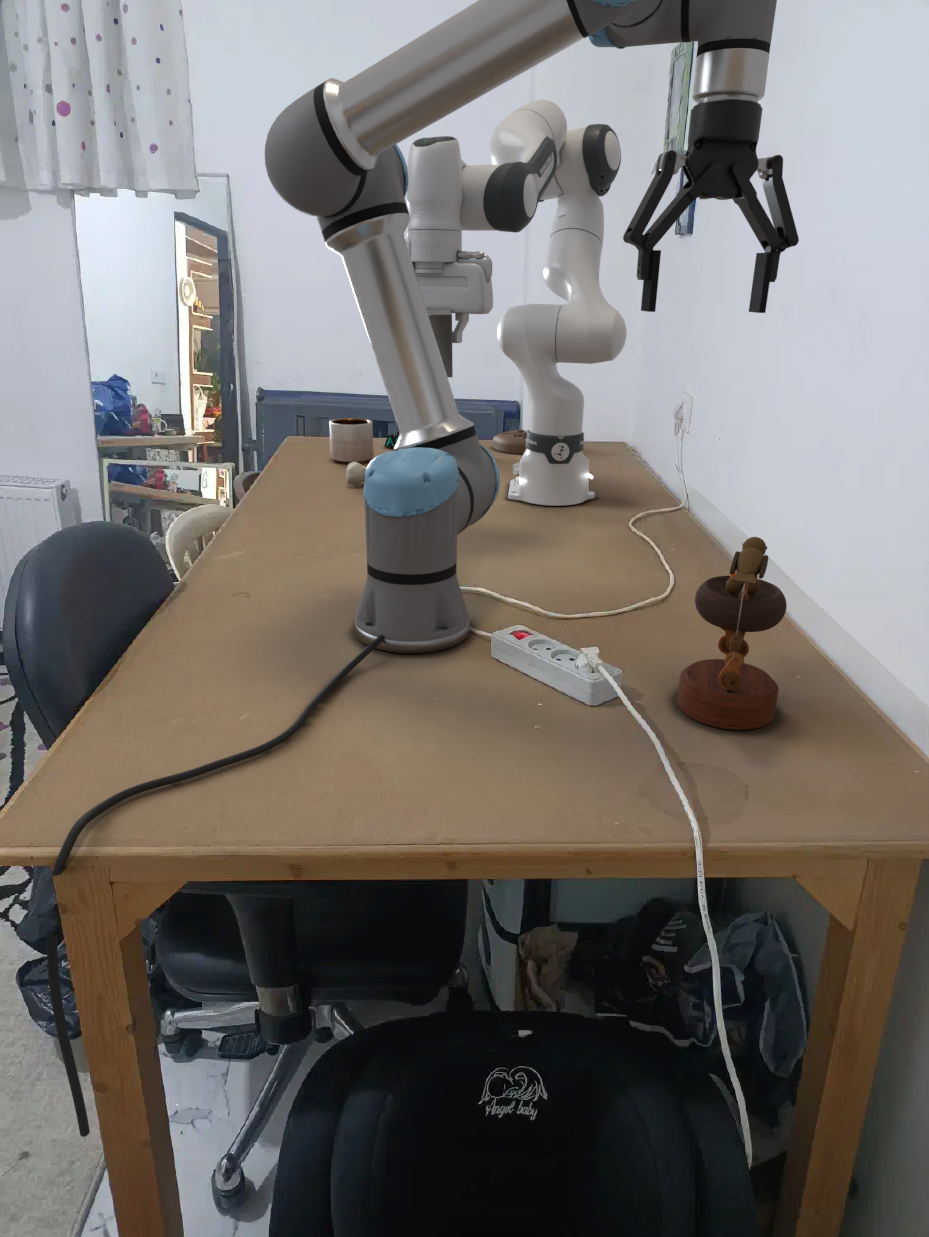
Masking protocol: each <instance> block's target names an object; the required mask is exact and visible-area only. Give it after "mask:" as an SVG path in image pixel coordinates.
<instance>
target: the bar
mask: <svg viewBox="0 0 929 1237" xmlns="http://www.w3.org/2000/svg"><path fill="white" fill-rule="evenodd" d="M426 310H427V313H428V316H429V319H430V322H431V326H432V329H433V332H434V335H435V339H436V342H437V345H438V348H439V351H440V355H441V358H442V361H443V364H444V368H445V371H446V374H447V377H448V378H453V377H454V376H453V375H454V374H453V372H454V371H453V368H454V366H453V343H452V331H453V313H451V311H450V309H430V308H426Z"/></svg>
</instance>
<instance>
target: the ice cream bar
mask: <svg viewBox="0 0 929 1237" xmlns="http://www.w3.org/2000/svg"><path fill="white" fill-rule="evenodd" d="M528 430H529V429H527V430H524V429H523V428H522V429H516V430H509V431H504V432H500V433H497V434H495V435H494V436H493V437H492V448H493V449H494V450H496V451H499V452H503V453H509V454H518V455H519V454H520V455H523V454H524V452H525V450H526V446H525V445H526V436H527V431H528Z"/></svg>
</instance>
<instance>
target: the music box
mask: <svg viewBox="0 0 929 1237" xmlns="http://www.w3.org/2000/svg"><path fill="white" fill-rule="evenodd" d="M741 547H742V549H741V551H739V550H738V551H737V550H736V551H735V553H734V555H733V558H732V562H731V565H730V568H729V574H730V575H718V576H714V577H710V578H708V579H706V580H705V581H704V582H702V583H701V585H699V587H698V589H697V590H696V592H695V595H694V604H695V609H696V611H697V613H698V614H699V616H700V617H701V618H702V619H703V620H704V621H705V622H707V623H709V624H710V625H712V626H715V627H717V628H720V629H721V630H723V631H724V635H722V636H721V637H719V639H718V642H717V647H718V649H719V651H720V652H721V653H722V654H724V655H725V656H724V659H723V658H712V659H711V658H710V659H702V660H698V661H695V662H693V663H691V664H690V665H688V666H686V667H684V668H683V669H682V670H681V672H680V675H679V683H678V690H677V698H676V702H677V706H678V707H679V709H680V710H681V711H682V712H683V713H684V714H685V715H686V716H688V717H689V718H691V719H693V720H695V721H697V722H699V723H702V724H705V725H707V726H711V727H716V728H718V729H719V728H720V729H725V730H734V731H735V730H736V731H738V730H739V731H741V730H745V731H746V730H754V729H758V728H762V727H764V726H766V725H768V724H770V723H771V722H772V721H773V719H774V718H775V713H776V707H777V703H778V702H777V701H778V696H779V690H780V688H779V685H778V683H777V682H776V680H775V679H773V677H772V676H771V675H770V674H769V673H767V671H765V670H763V669H761V668H759V667H757V666H755V665H752V664H749V663H747V662H745V657H746V656H747V655H748V654H749V651H750V646H749V643H748V641H746V640H745V639H744V638H745V635H746V633H757V632H765V631H768V630H770V629H772V628H774V627H775V626H777V625H778V624H779V623H780V622H782V620H783V618H784V617H785V615H786V612H787V609H788V608H787V606H788V605H787V604H788V603H787V599H786V596H785V594H784V593H783V591H782V590H781V589H780V587H778V586H777V585H775V584H773V583H772V582H769V581H766V580H763V578H764V577H765V574H766V572H767V569H768V568H767V567H768V564H769V555H767V554H766V552H767V550H768V546H767V545H766V542H765V541H764V539H763V538H761V537H758V536H751V537H748V538H747V539H746V540H745V541H744V542H743V543H742V544H741Z"/></svg>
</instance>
